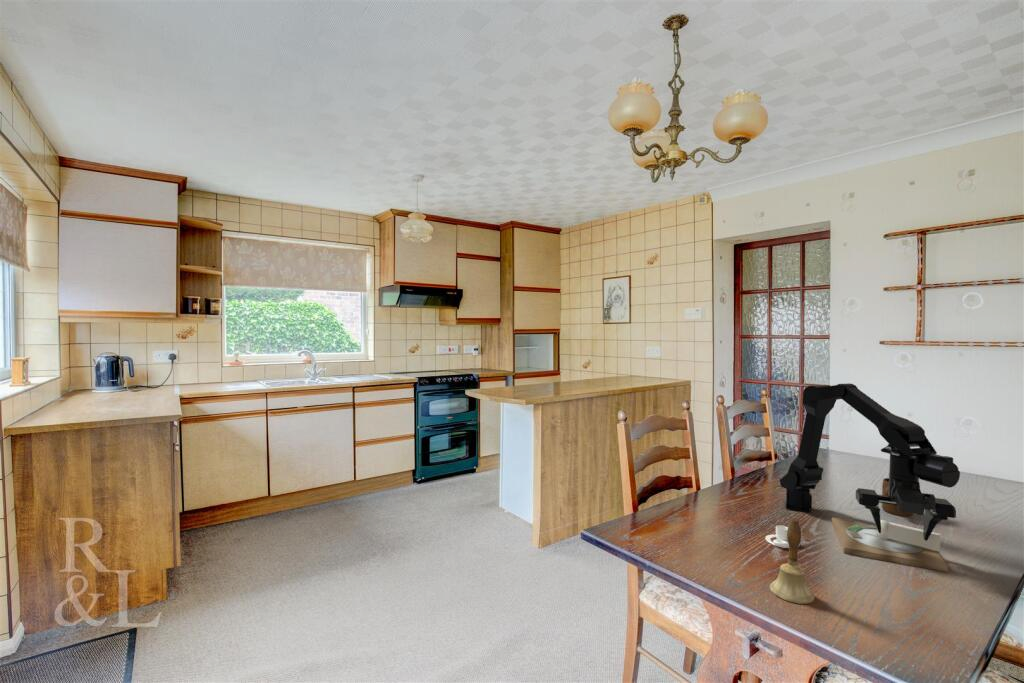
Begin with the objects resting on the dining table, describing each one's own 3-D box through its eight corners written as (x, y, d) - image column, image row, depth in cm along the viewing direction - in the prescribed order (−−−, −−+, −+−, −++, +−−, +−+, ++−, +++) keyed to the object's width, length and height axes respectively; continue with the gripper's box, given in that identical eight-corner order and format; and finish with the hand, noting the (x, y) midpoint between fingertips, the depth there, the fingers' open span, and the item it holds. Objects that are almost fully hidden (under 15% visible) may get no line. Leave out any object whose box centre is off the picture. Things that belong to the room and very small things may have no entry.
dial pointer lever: (850, 530, 129) (850, 515, 129) (852, 527, 131) (852, 512, 131) (939, 553, 116) (939, 536, 116) (940, 550, 118) (940, 533, 118)
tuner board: (843, 553, 120) (844, 545, 120) (831, 522, 139) (831, 515, 139) (947, 571, 111) (947, 563, 111) (919, 536, 130) (919, 529, 130)
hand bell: (798, 582, 107) (800, 511, 106) (823, 604, 98) (825, 527, 98) (761, 582, 106) (763, 512, 106) (784, 604, 98) (786, 528, 98)
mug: (901, 522, 139) (902, 490, 139) (871, 513, 146) (872, 482, 145) (917, 513, 146) (918, 483, 145) (887, 505, 152) (888, 476, 152)
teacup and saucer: (785, 553, 121) (785, 537, 121) (756, 540, 128) (757, 525, 128) (806, 546, 125) (807, 530, 125) (777, 534, 132) (778, 519, 132)
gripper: (864, 477, 116) (862, 541, 117) (966, 490, 108) (963, 558, 108) (855, 466, 126) (854, 524, 127) (948, 476, 118) (946, 538, 118)
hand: (902, 536), depth 120 cm, fingers open, 9 cm apart
